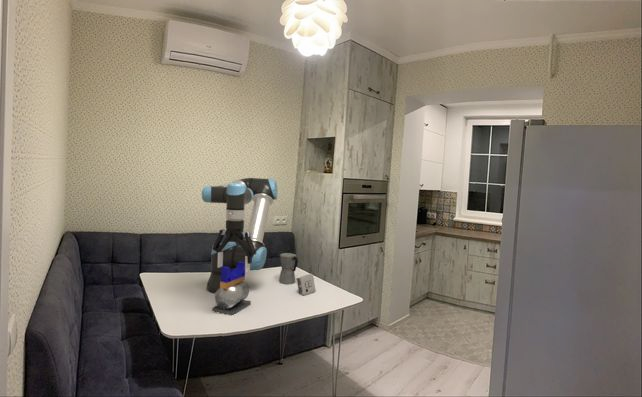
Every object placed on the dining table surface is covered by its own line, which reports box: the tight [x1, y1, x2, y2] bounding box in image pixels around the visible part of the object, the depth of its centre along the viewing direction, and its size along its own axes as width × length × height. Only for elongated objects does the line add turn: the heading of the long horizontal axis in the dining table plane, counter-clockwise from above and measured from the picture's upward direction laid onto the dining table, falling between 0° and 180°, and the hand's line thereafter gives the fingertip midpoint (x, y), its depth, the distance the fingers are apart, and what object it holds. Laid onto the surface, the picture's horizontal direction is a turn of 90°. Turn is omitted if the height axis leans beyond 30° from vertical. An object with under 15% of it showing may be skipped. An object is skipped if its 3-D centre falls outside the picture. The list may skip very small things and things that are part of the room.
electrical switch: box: [296, 273, 316, 296], centre depth 169 cm, size 9×5×9 cm, turn 141°
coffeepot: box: [278, 249, 299, 285], centre depth 185 cm, size 15×9×18 cm, turn 39°
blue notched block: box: [221, 262, 246, 283], centre depth 143 cm, size 12×4×6 cm, turn 156°
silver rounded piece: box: [211, 275, 252, 316], centre depth 144 cm, size 14×10×13 cm
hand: (233, 268), depth 144 cm, fingers open, 13 cm apart
